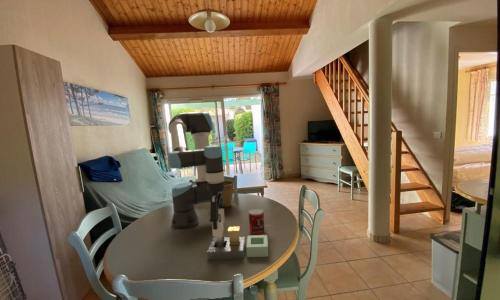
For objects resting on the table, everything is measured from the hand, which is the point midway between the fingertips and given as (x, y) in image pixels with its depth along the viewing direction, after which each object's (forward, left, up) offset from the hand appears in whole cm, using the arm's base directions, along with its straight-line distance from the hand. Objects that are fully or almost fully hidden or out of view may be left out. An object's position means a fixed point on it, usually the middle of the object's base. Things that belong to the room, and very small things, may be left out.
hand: (219, 228), depth 104 cm
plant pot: (-58, -7, -11) cm, 60 cm away
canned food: (-18, +16, -11) cm, 27 cm away
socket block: (0, +3, -11) cm, 11 cm away
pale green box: (0, +16, -11) cm, 20 cm away
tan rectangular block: (0, +6, -11) cm, 12 cm away
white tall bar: (0, 0, -11) cm, 11 cm away
